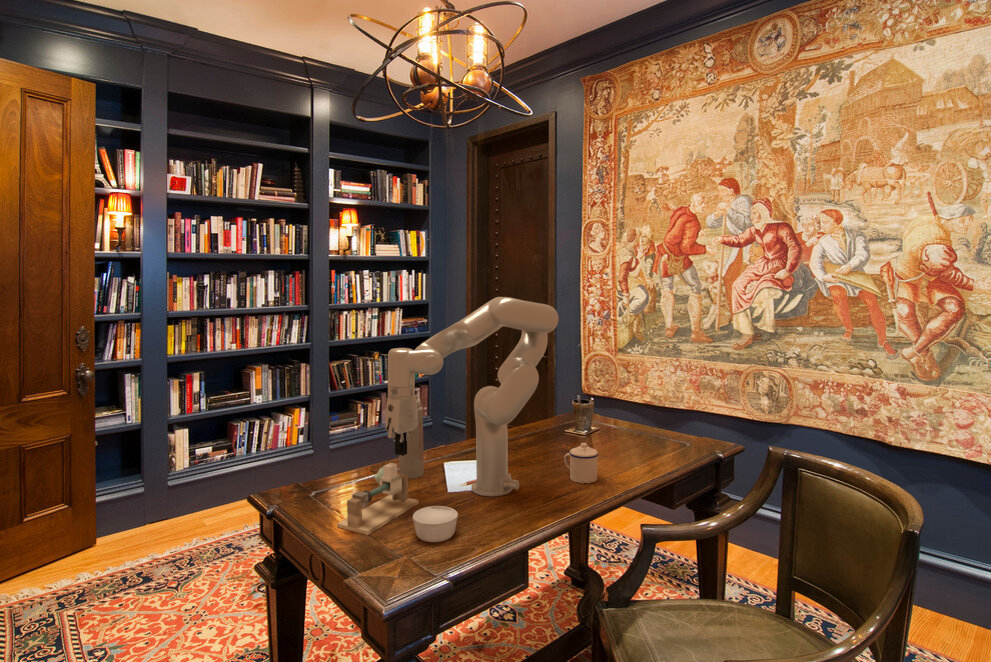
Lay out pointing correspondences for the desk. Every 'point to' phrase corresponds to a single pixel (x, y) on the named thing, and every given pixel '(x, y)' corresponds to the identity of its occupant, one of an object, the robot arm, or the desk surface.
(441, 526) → the ramekin
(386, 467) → the marker sleeve
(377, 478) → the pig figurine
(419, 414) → the thermos bottle
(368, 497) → the wooden toy assembly
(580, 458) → the teacup with lid
